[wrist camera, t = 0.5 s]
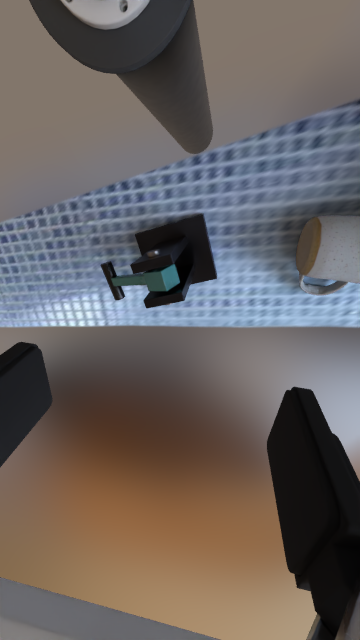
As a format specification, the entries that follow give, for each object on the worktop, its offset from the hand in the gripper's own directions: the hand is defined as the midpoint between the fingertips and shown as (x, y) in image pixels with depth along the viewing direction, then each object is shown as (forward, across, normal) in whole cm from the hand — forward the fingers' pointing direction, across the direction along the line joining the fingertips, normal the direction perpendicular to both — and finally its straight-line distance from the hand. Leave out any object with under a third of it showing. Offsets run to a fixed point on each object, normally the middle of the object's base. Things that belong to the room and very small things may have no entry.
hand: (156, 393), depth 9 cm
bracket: (+29, +4, +1) cm, 30 cm away
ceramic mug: (+30, -16, -1) cm, 34 cm away
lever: (+21, +7, +3) cm, 23 cm away
